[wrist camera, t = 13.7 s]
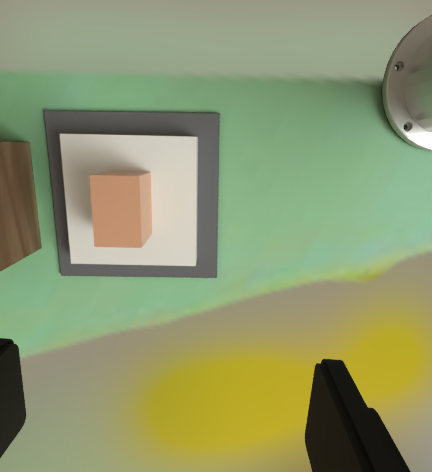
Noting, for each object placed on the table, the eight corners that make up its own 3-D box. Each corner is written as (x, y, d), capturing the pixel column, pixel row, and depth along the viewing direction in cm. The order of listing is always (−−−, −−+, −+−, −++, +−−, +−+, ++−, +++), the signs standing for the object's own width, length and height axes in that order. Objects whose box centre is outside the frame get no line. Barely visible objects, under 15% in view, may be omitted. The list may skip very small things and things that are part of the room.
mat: (219, 113, 34) (219, 113, 33) (216, 276, 38) (216, 277, 37) (46, 111, 33) (44, 110, 33) (62, 274, 38) (61, 275, 37)
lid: (197, 137, 34) (193, 134, 27) (196, 258, 37) (192, 285, 30) (69, 134, 34) (31, 130, 27) (79, 256, 37) (47, 282, 30)
